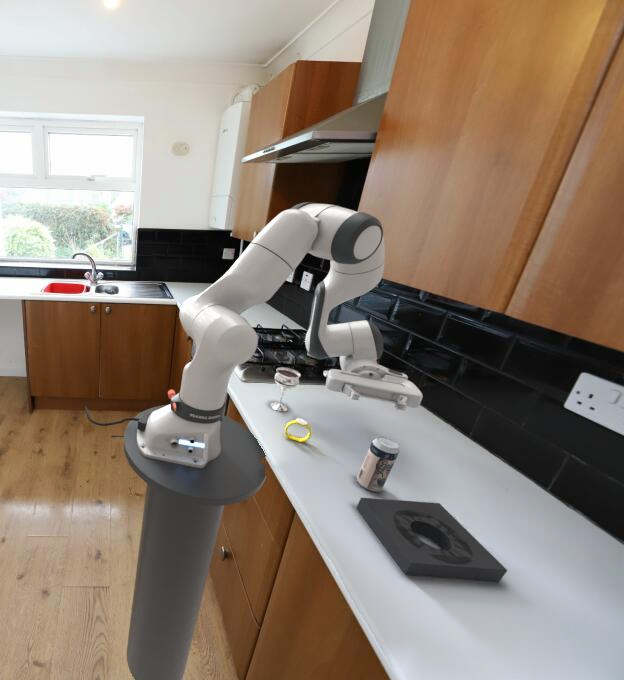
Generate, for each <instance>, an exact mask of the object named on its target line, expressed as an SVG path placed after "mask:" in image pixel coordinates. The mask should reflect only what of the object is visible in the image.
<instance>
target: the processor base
mask: <svg viewBox="0 0 624 680" xmlns="http://www.w3.org/2000/svg"><path fill="white" fill-rule="evenodd" d="M356 505H357V506H356V510H357V511H358V513H359V514H360V515H361V517H362V518H363V519H364V522H366V524H367V525H368V526H369V528H370V529H371V530H372V532H373V533H374V535H375V536H376V537H377V538H378V540H379V541H380V543H381V544H382V546H383V547H384V548H385V550H386V551H387V552H388V553H389V555H390V556H391V558H392V559H393V560H394V562H395V563H396V564H397V566H398V567H399V568H400V570H401V571H402V573H403V574H404V575H405V576H414V577H415V576H416V577H417V576H418V577H427V578H428V577H429V578H430V577H431V578H444V579H456V580H470V581H481V582H482V581H483V582H493V583H494V582H495V583H499V582H500V581H501V580H502V579H503V578H504V576H505V575H506V573H507V572H508V569H507V568H506V567H505V566H504V565H503V563H500V561H499V560H498V559H497V558H496V557H495V556H494V555H493V554H492V553H491V552H490V551H488V549H487V548H485V546H483V545H482V543H480V541H478V539H476V538H475V536H474V535H472V533H470V531H468V530H467V529H466V528H465V527H464V526H463V525H462V524H461V523H460V522H459V521H458V520H457V519H456V518H455V517H454V516H453V515H452V514H451V513H450V512H449V511H448V510H447V509H446V508H445V507H444V506H443V505H442V503H441V504H440V503H439V502H430V501H428V502H427V501H417V500H416V501H415V500H401V499H387V498H375V497H373V498H372V497H360V498H359V501H358V503H357V504H356ZM415 533H417V534H420V535H423V536H425V537H427V538H429V539H430V540H431V541H433V542H434V543H436V544H437V545H438V546H439V547H440V548H441V549H440V548H436V547H434V546H432V545H430V544H428V543H426V542H424V541H423V540H422V539H421V538H419V537H418V536H417V535H416V534H415Z"/></svg>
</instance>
